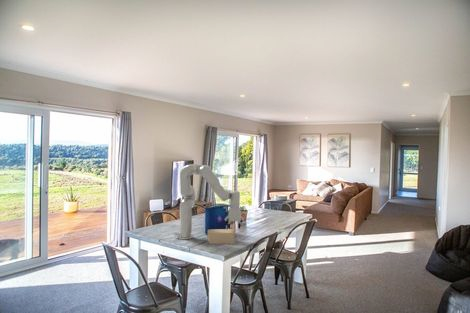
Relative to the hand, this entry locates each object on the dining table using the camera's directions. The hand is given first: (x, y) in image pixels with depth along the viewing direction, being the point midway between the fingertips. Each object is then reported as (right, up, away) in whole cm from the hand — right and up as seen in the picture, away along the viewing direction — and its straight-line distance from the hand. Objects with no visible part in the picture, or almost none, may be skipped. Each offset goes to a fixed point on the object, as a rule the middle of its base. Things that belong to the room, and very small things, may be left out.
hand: (234, 228), depth 252 cm
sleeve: (-10, -10, -2) cm, 14 cm away
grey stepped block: (-9, -9, -2) cm, 13 cm away
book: (-16, -9, +21) cm, 28 cm away
